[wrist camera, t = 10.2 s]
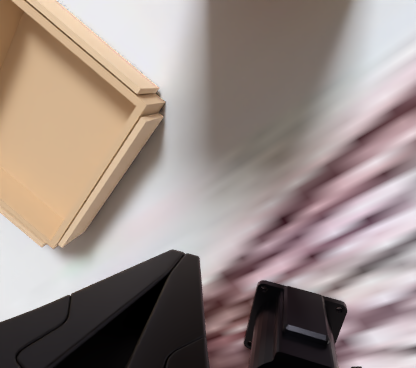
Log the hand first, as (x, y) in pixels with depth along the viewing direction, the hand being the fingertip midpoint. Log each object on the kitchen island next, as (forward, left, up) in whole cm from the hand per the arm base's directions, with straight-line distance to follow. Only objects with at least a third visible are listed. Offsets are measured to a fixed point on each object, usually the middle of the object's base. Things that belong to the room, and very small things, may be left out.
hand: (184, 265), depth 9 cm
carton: (0, +15, -13) cm, 20 cm away
